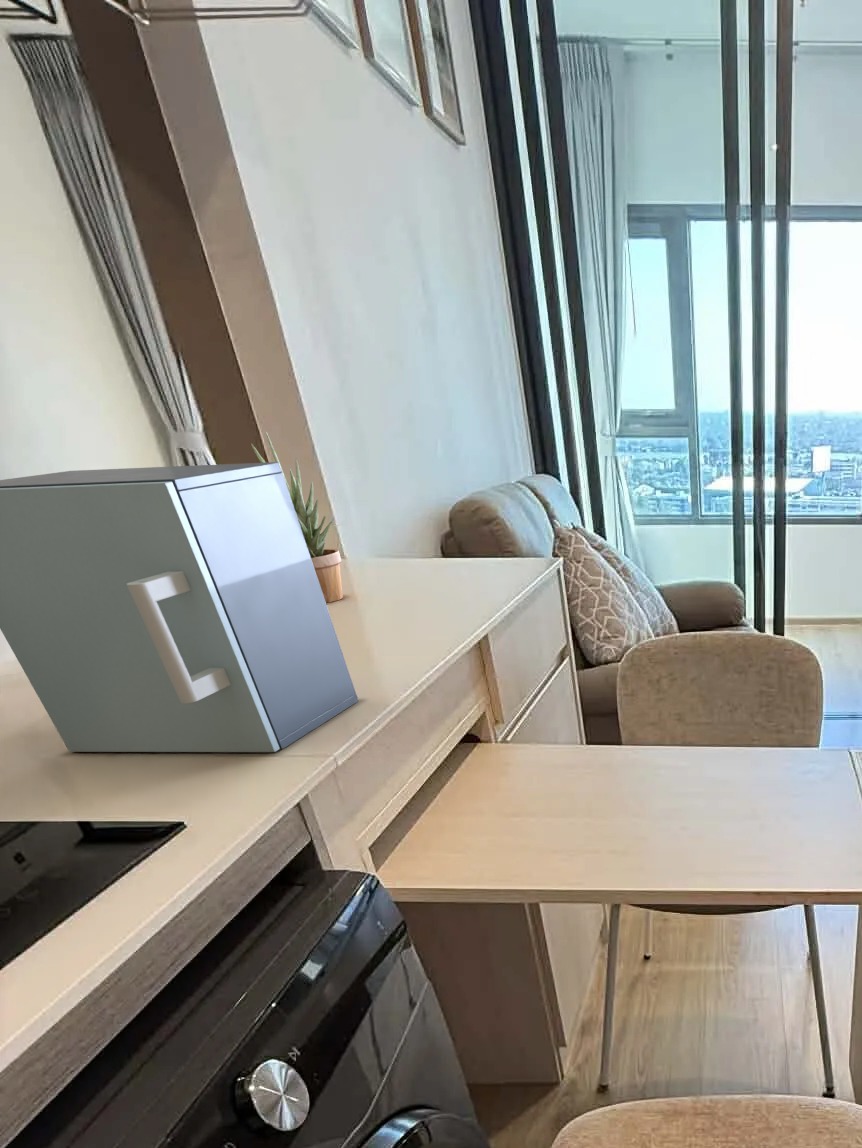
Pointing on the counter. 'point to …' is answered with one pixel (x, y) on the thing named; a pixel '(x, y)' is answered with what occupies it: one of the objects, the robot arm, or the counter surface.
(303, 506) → the potted plant
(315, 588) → the cupboard
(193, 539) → the door
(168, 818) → the counter surface
